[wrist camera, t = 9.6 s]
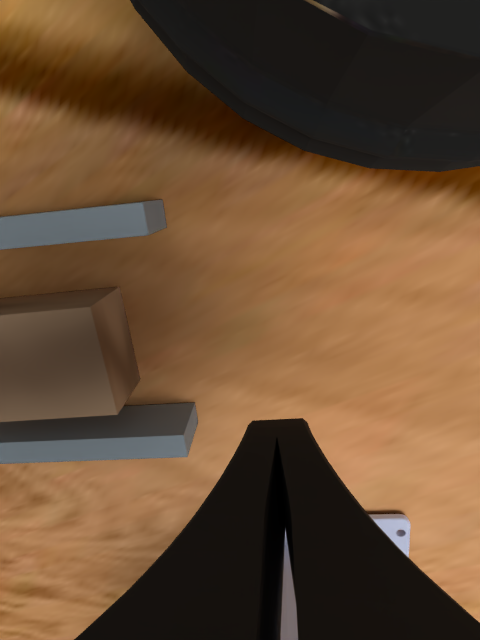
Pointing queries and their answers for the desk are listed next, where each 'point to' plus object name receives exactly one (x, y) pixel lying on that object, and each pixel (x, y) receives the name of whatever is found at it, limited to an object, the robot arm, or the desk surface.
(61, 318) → the walnut block
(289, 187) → the desk surface
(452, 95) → the coffee cup
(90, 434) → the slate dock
